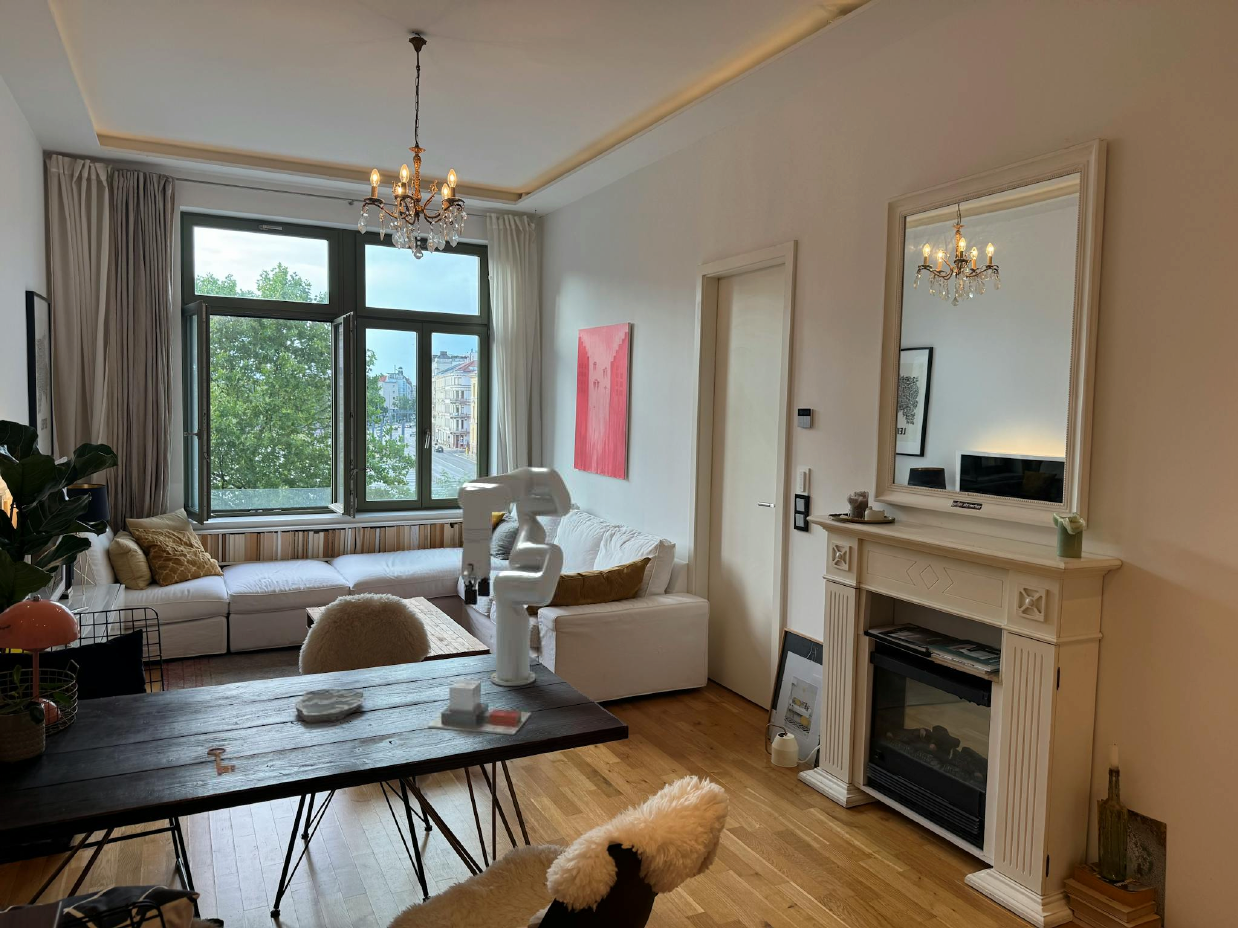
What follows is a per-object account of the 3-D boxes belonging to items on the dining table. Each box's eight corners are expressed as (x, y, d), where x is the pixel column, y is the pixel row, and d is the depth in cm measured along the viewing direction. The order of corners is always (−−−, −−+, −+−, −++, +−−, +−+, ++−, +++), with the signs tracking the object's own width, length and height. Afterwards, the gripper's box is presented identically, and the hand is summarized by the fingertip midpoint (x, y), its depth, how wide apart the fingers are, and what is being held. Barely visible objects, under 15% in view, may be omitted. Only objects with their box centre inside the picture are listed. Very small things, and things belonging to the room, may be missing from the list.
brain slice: (368, 720, 218) (368, 708, 217) (296, 729, 211) (296, 717, 211) (361, 695, 236) (361, 684, 236) (294, 703, 230) (294, 692, 229)
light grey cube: (458, 702, 221) (458, 679, 221) (480, 704, 220) (480, 681, 220) (449, 710, 215) (449, 687, 215) (472, 712, 214) (472, 688, 214)
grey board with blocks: (449, 707, 226) (449, 681, 226) (530, 714, 222) (530, 687, 222) (427, 727, 212) (427, 699, 212) (514, 734, 208) (514, 706, 208)
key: (239, 774, 186) (234, 749, 200) (239, 770, 186) (235, 745, 200) (209, 777, 184) (206, 751, 197) (209, 773, 184) (207, 747, 197)
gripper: (475, 529, 233) (475, 592, 234) (450, 539, 216) (451, 607, 217) (502, 530, 231) (502, 594, 233) (479, 540, 214) (479, 608, 216)
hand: (477, 600), depth 225 cm, fingers open, 9 cm apart
